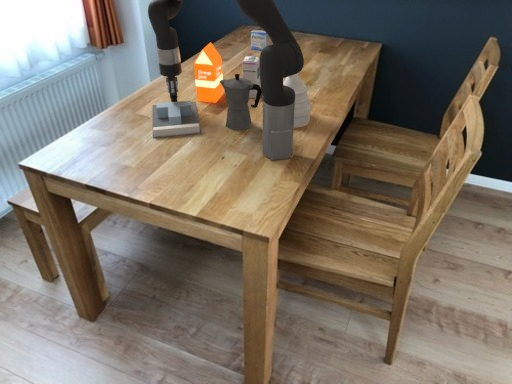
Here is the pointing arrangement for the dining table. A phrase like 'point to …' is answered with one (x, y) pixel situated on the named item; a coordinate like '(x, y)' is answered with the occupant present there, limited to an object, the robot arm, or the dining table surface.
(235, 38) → the dining table surface
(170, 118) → the t block
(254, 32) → the medicine box
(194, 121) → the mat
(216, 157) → the dining table surface
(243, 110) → the coffeepot
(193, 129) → the rail
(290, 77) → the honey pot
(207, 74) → the orange juice
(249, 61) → the syrup box
